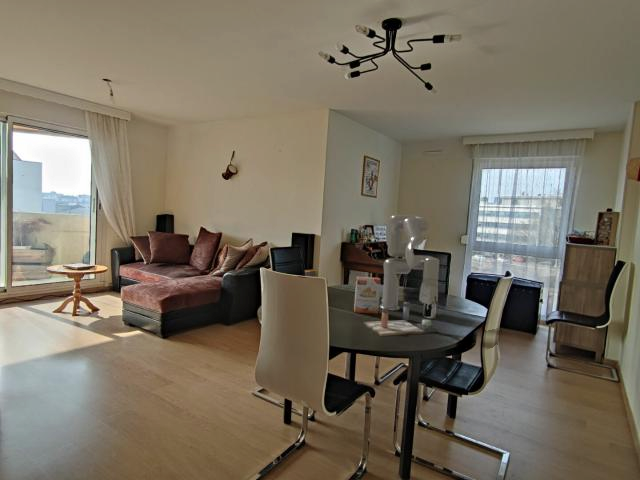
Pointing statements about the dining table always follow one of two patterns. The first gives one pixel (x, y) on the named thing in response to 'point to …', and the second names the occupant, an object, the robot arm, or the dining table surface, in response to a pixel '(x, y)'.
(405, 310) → the slate
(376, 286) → the cracker box
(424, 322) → the button
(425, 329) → the button housing
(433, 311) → the water bottle
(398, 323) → the worksheet
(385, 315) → the marker terracotta
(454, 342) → the dining table surface
